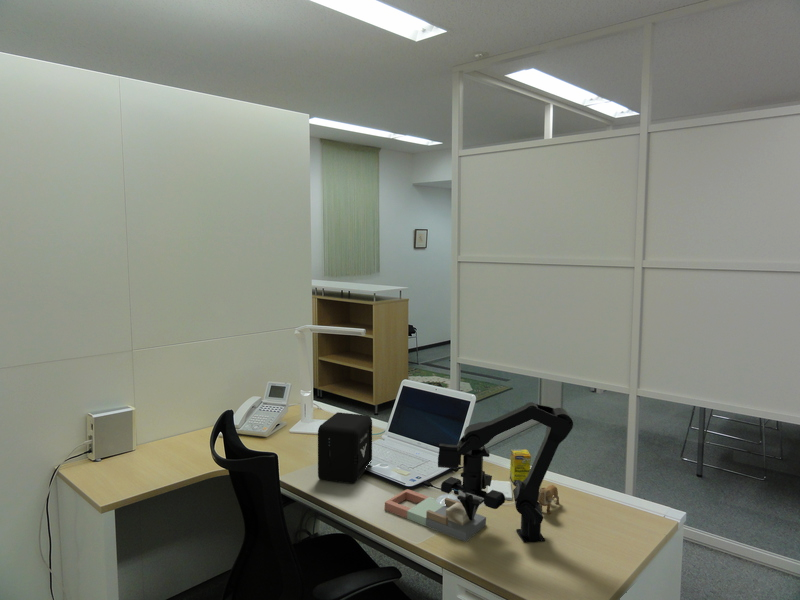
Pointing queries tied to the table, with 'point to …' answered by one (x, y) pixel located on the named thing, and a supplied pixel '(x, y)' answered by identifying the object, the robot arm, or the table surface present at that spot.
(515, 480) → the supplement box
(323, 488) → the table surface
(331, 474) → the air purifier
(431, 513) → the board
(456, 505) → the block
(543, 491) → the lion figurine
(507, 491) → the external hard drive
